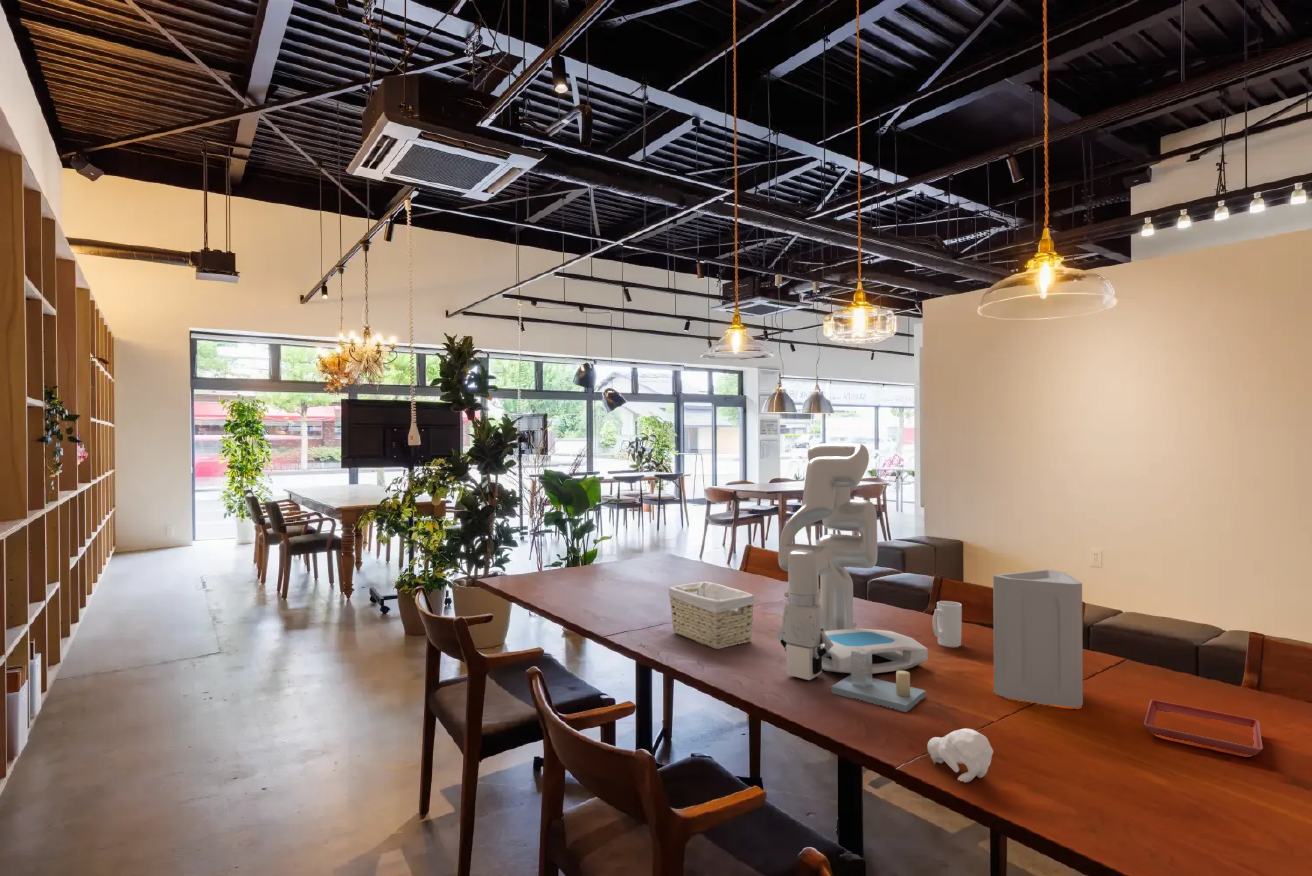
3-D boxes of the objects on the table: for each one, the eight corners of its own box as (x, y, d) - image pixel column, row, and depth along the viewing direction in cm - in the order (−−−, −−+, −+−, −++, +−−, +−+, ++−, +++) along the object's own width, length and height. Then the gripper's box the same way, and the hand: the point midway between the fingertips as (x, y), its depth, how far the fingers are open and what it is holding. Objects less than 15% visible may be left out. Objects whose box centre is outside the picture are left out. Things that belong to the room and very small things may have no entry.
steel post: (857, 680, 167) (857, 648, 167) (872, 684, 164) (871, 651, 164) (851, 684, 164) (851, 651, 164) (865, 688, 161) (865, 654, 161)
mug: (948, 640, 206) (948, 600, 206) (967, 646, 200) (966, 604, 200) (923, 644, 201) (923, 603, 202) (942, 650, 195) (942, 608, 195)
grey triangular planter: (1049, 716, 149) (1048, 587, 149) (992, 693, 162) (991, 575, 163) (1107, 703, 156) (1107, 580, 156) (1048, 682, 170) (1047, 569, 170)
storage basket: (757, 643, 204) (757, 593, 204) (715, 652, 194) (715, 600, 194) (706, 625, 223) (706, 580, 223) (666, 633, 214) (666, 586, 214)
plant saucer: (1150, 712, 151) (1150, 697, 151) (1259, 735, 140) (1258, 718, 140) (1143, 740, 137) (1143, 724, 137) (1263, 767, 126) (1263, 749, 126)
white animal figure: (970, 738, 118) (915, 720, 128) (974, 790, 117) (919, 767, 127) (995, 731, 120) (939, 714, 131) (999, 781, 120) (943, 760, 130)
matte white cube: (799, 667, 178) (798, 638, 178) (821, 673, 174) (821, 643, 174) (786, 674, 173) (786, 644, 173) (809, 680, 169) (809, 649, 169)
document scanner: (929, 667, 180) (929, 643, 180) (841, 678, 169) (840, 652, 169) (876, 647, 199) (875, 625, 199) (793, 656, 189) (793, 633, 189)
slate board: (852, 679, 172) (852, 653, 172) (925, 696, 160) (925, 669, 160) (831, 692, 163) (830, 665, 163) (906, 712, 151) (906, 682, 151)
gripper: (766, 596, 176) (766, 666, 176) (828, 607, 165) (828, 681, 165) (781, 591, 182) (781, 658, 182) (842, 601, 170) (842, 673, 171)
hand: (804, 669), depth 173 cm, fingers closed on matte white cube, 6 cm apart
